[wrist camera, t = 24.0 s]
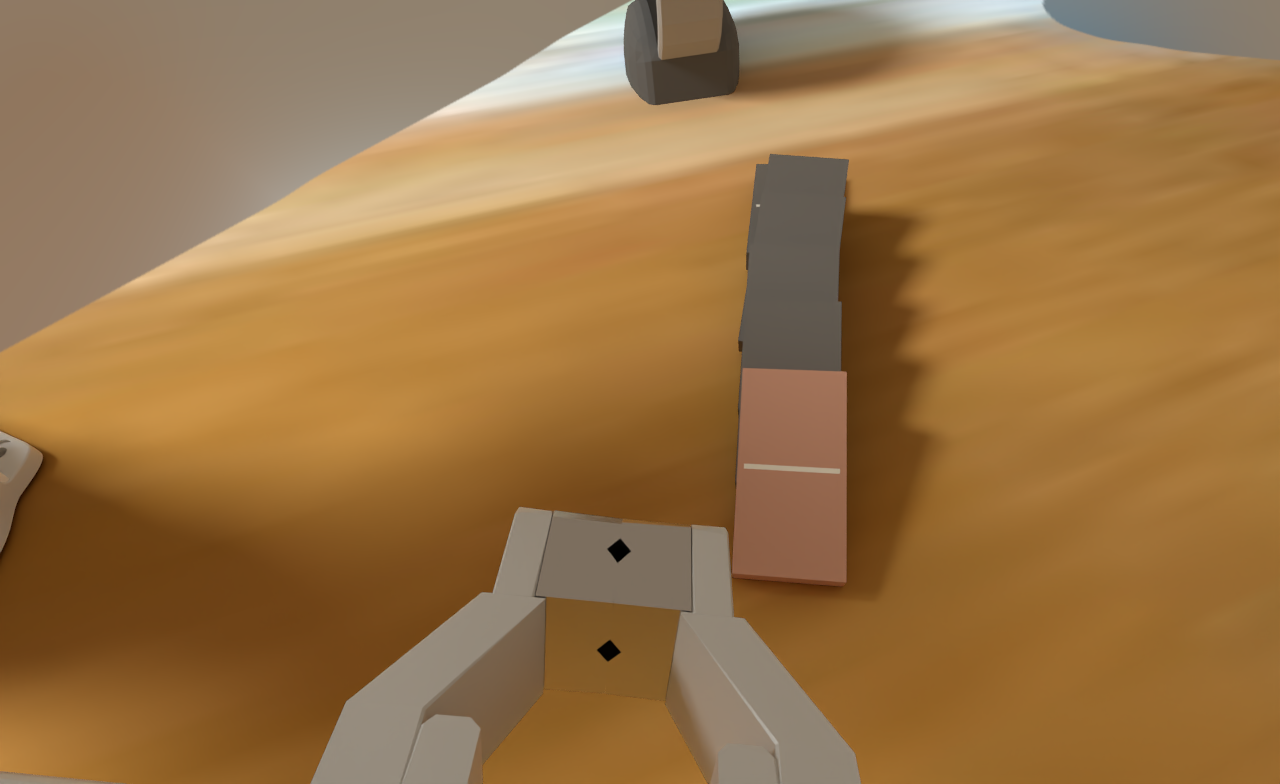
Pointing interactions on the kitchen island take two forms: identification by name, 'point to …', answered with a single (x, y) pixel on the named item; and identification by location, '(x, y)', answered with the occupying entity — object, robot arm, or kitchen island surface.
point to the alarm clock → (680, 50)
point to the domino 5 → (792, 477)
